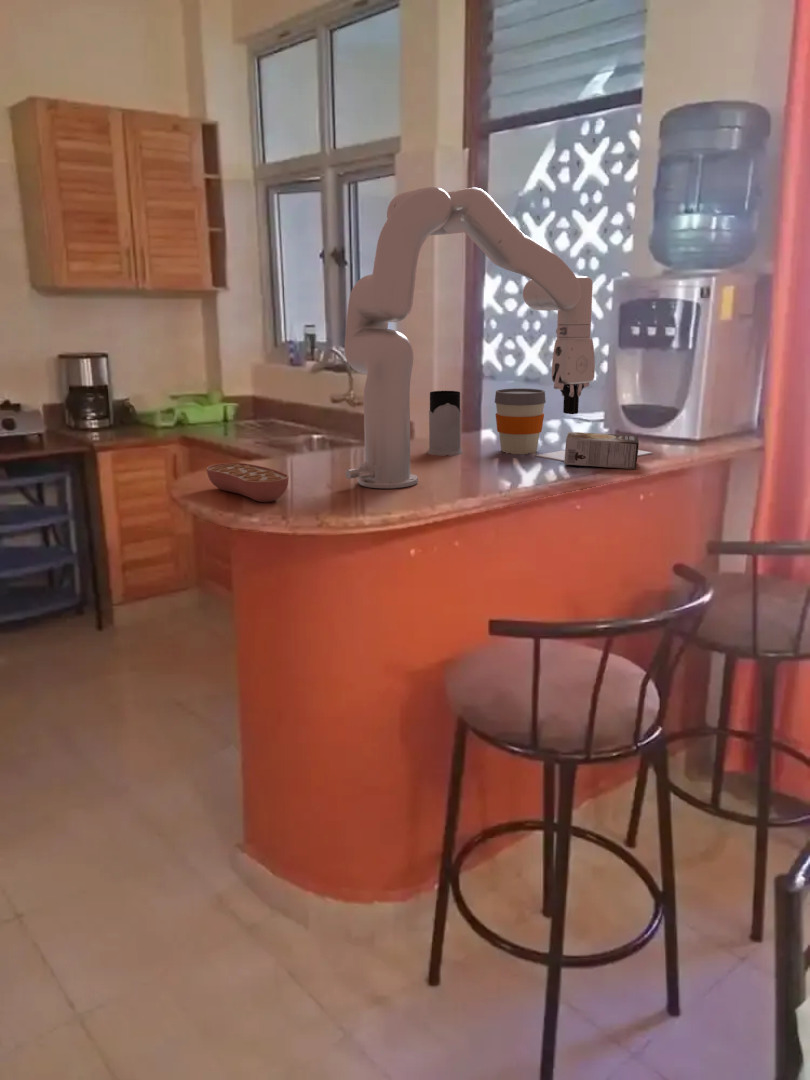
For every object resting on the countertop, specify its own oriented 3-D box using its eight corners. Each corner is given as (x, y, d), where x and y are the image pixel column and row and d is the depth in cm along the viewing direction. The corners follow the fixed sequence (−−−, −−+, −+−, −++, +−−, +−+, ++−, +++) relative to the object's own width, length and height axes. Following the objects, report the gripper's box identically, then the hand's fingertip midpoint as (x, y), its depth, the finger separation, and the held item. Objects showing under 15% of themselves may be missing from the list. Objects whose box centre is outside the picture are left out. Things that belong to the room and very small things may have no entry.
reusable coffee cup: (539, 456, 212) (541, 394, 208) (488, 454, 216) (489, 393, 212) (547, 448, 223) (549, 388, 219) (499, 445, 227) (501, 387, 223)
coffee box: (568, 430, 205) (638, 434, 202) (566, 457, 207) (635, 461, 203) (565, 438, 196) (639, 442, 193) (563, 465, 198) (636, 470, 195)
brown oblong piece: (200, 490, 181) (198, 466, 179) (242, 483, 187) (241, 460, 185) (257, 509, 164) (256, 483, 162) (302, 501, 170) (301, 476, 169)
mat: (586, 465, 200) (586, 464, 200) (536, 456, 212) (536, 455, 212) (652, 453, 214) (652, 452, 214) (601, 445, 226) (601, 444, 226)
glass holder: (430, 456, 214) (430, 394, 210) (422, 446, 228) (421, 388, 224) (465, 454, 215) (465, 393, 211) (454, 445, 229) (455, 387, 225)
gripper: (563, 334, 191) (560, 418, 196) (608, 332, 200) (604, 412, 205) (538, 333, 197) (536, 414, 202) (583, 331, 206) (580, 409, 211)
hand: (570, 413), depth 203 cm, fingers closed
